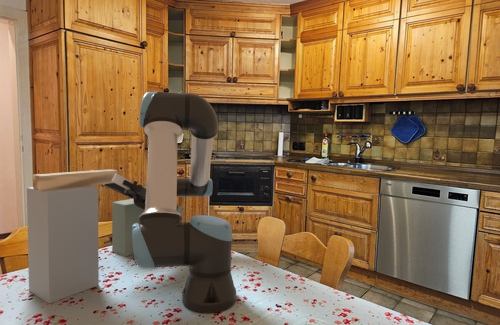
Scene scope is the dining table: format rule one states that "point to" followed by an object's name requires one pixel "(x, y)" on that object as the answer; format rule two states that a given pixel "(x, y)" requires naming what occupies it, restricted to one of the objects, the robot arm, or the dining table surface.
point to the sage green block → (124, 225)
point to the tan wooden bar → (72, 179)
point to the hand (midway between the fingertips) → (101, 175)
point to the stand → (62, 241)
